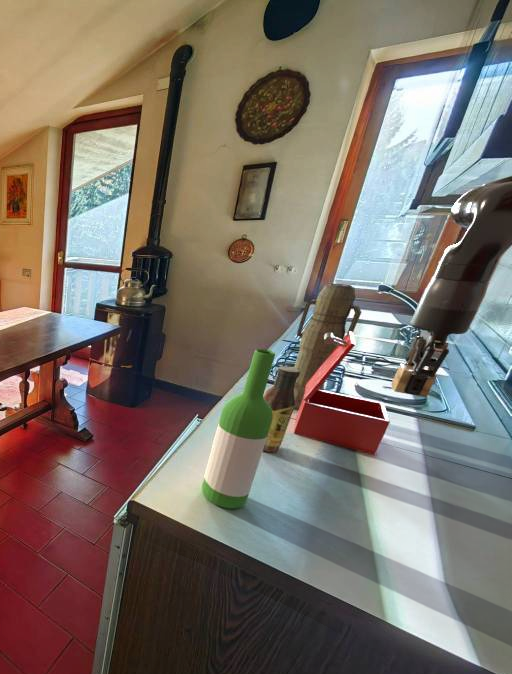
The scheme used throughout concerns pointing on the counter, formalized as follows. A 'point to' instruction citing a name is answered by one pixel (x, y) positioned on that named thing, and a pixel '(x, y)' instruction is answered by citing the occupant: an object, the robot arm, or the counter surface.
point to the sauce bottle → (280, 405)
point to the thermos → (322, 332)
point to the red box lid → (329, 362)
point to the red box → (343, 421)
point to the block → (403, 377)
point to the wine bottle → (240, 438)
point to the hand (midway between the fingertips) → (408, 389)
